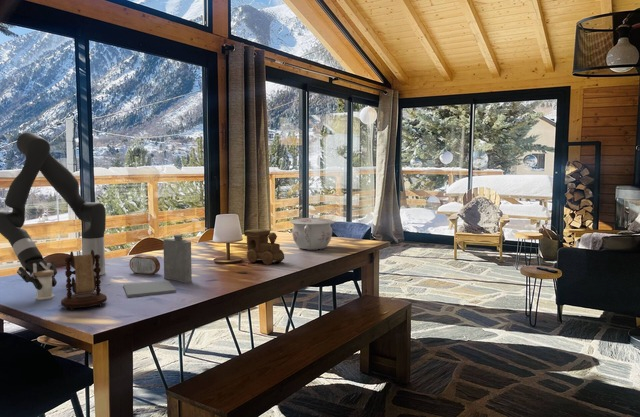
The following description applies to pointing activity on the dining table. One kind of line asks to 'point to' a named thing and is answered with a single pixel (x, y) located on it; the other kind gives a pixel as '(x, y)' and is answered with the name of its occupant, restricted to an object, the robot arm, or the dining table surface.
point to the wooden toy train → (263, 246)
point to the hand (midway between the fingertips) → (47, 286)
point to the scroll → (83, 281)
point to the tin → (144, 264)
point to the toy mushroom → (45, 284)
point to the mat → (148, 288)
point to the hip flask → (177, 259)
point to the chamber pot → (312, 232)
